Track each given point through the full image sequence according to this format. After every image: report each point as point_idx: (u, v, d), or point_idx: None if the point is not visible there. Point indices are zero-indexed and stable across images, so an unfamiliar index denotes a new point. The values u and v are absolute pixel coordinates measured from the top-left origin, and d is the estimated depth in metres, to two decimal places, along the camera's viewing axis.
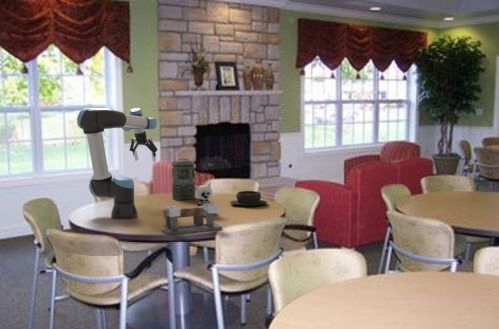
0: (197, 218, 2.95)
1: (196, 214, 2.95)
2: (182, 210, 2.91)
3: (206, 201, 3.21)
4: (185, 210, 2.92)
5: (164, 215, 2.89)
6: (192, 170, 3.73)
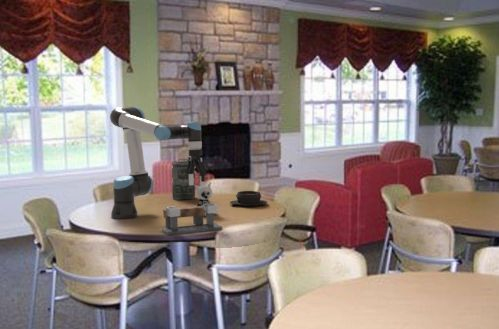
0: (197, 218, 2.95)
1: (196, 214, 2.95)
2: (182, 210, 2.91)
3: (206, 201, 3.21)
4: (185, 210, 2.92)
5: (164, 215, 2.89)
6: None
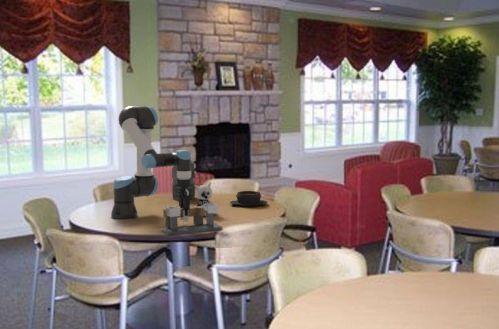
0: (197, 218, 2.95)
1: (196, 214, 2.95)
2: (182, 210, 2.91)
3: (206, 201, 3.21)
4: None
5: (164, 215, 2.89)
6: (192, 170, 3.73)
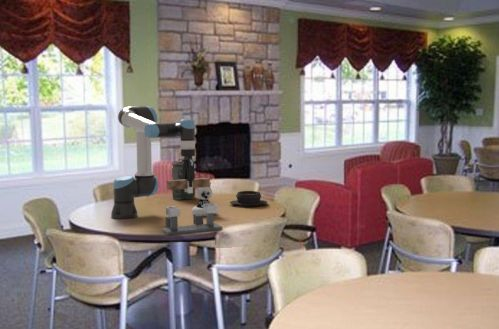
0: (197, 218, 2.95)
1: (201, 185, 2.87)
2: (186, 181, 2.83)
3: (206, 201, 3.21)
4: None
5: (168, 186, 2.81)
6: None
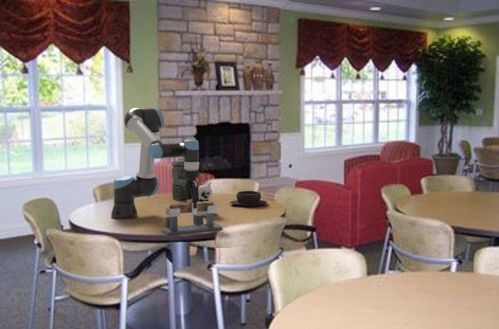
0: (197, 218, 2.95)
1: (204, 209, 2.83)
2: (190, 205, 2.79)
3: None
4: None
5: None
6: None
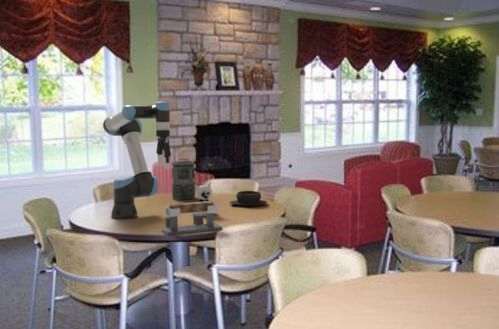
0: (197, 218, 2.95)
1: (204, 209, 2.83)
2: (190, 205, 2.79)
3: None
4: (193, 205, 2.80)
5: None
6: (192, 170, 3.73)
